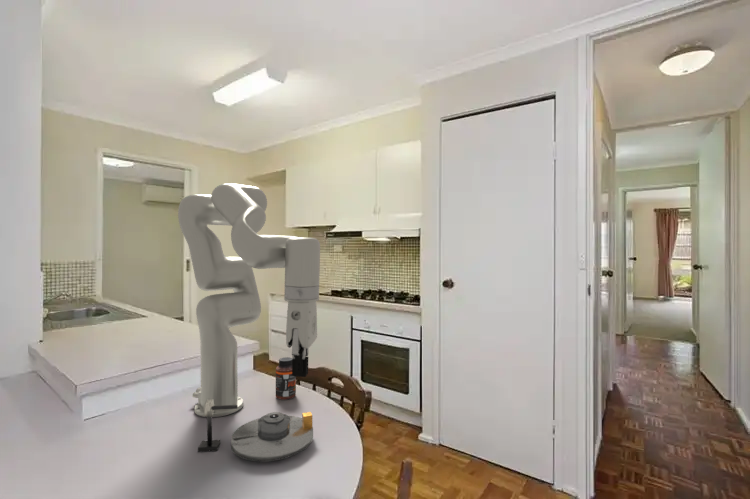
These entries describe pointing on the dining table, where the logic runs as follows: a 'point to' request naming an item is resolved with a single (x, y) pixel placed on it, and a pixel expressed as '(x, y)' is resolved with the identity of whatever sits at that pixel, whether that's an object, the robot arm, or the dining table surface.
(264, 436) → the cover
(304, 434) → the turntable
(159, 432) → the dining table surface
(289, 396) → the supplement bottle
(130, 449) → the dining table surface
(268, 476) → the dining table surface
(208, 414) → the stand
